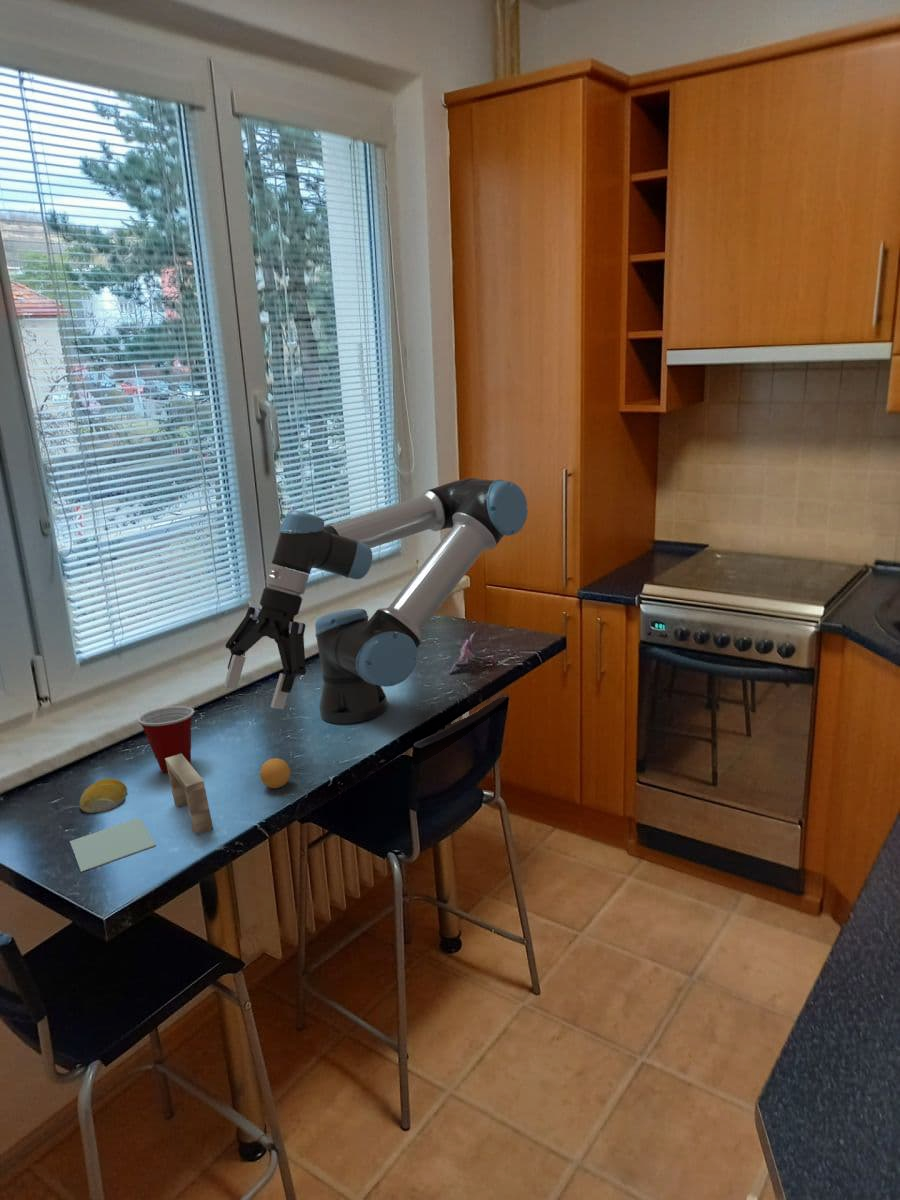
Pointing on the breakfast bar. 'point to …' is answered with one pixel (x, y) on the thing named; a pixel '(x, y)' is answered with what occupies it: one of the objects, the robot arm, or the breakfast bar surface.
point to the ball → (275, 773)
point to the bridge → (189, 792)
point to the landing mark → (111, 844)
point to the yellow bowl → (103, 796)
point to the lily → (466, 651)
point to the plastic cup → (168, 732)
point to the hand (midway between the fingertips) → (252, 698)
